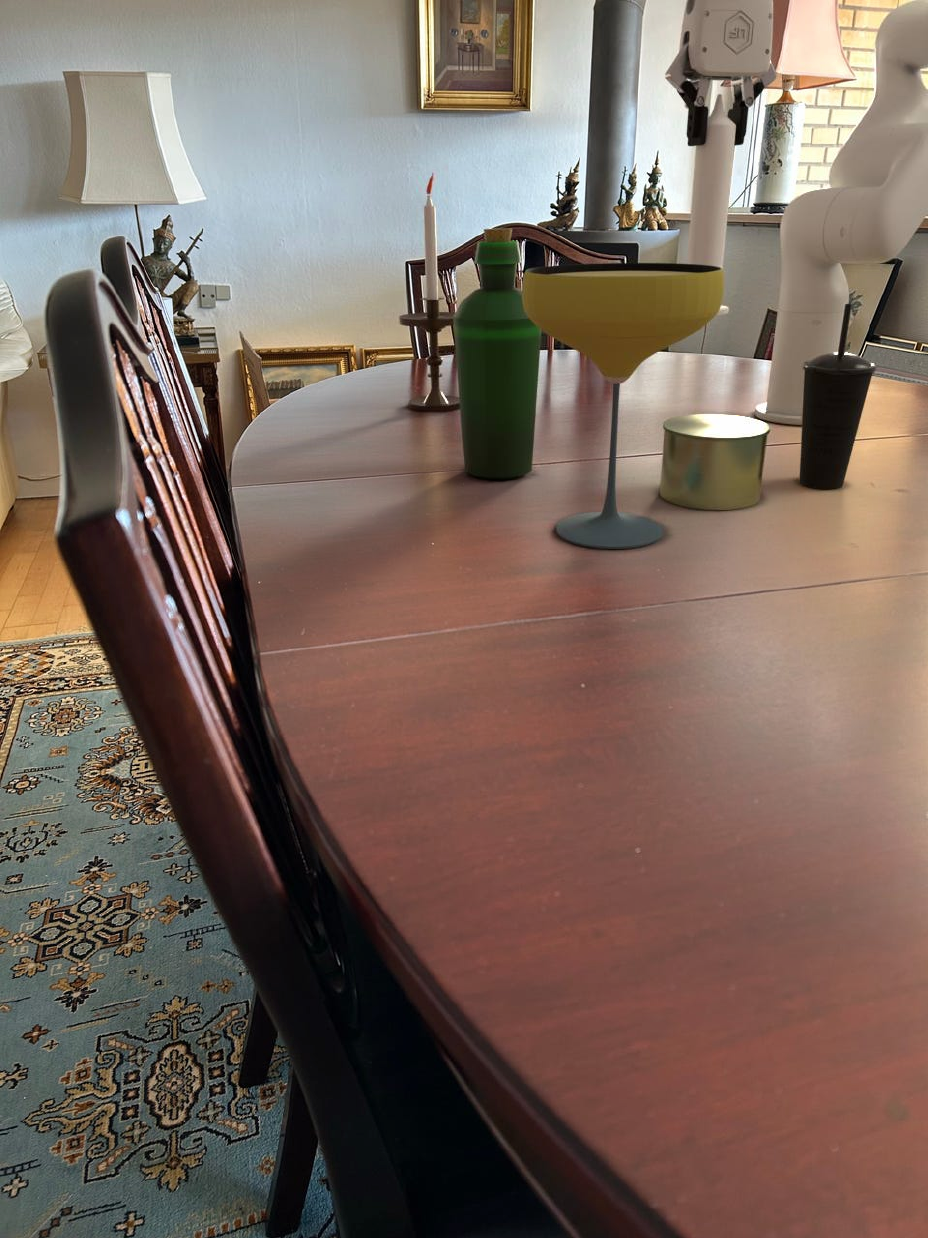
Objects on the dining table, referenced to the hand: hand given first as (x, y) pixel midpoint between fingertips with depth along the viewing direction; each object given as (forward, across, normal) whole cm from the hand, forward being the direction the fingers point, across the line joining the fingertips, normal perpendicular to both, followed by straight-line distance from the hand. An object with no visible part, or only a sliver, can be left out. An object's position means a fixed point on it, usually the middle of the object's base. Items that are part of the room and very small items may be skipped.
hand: (715, 143), depth 109 cm
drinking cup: (+37, +4, -24) cm, 44 cm away
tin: (+37, -11, -23) cm, 45 cm away
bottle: (+37, -30, -6) cm, 48 cm away
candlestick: (+37, -27, +37) cm, 58 cm away
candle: (+20, 0, 0) cm, 20 cm away
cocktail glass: (+37, -27, -30) cm, 55 cm away
